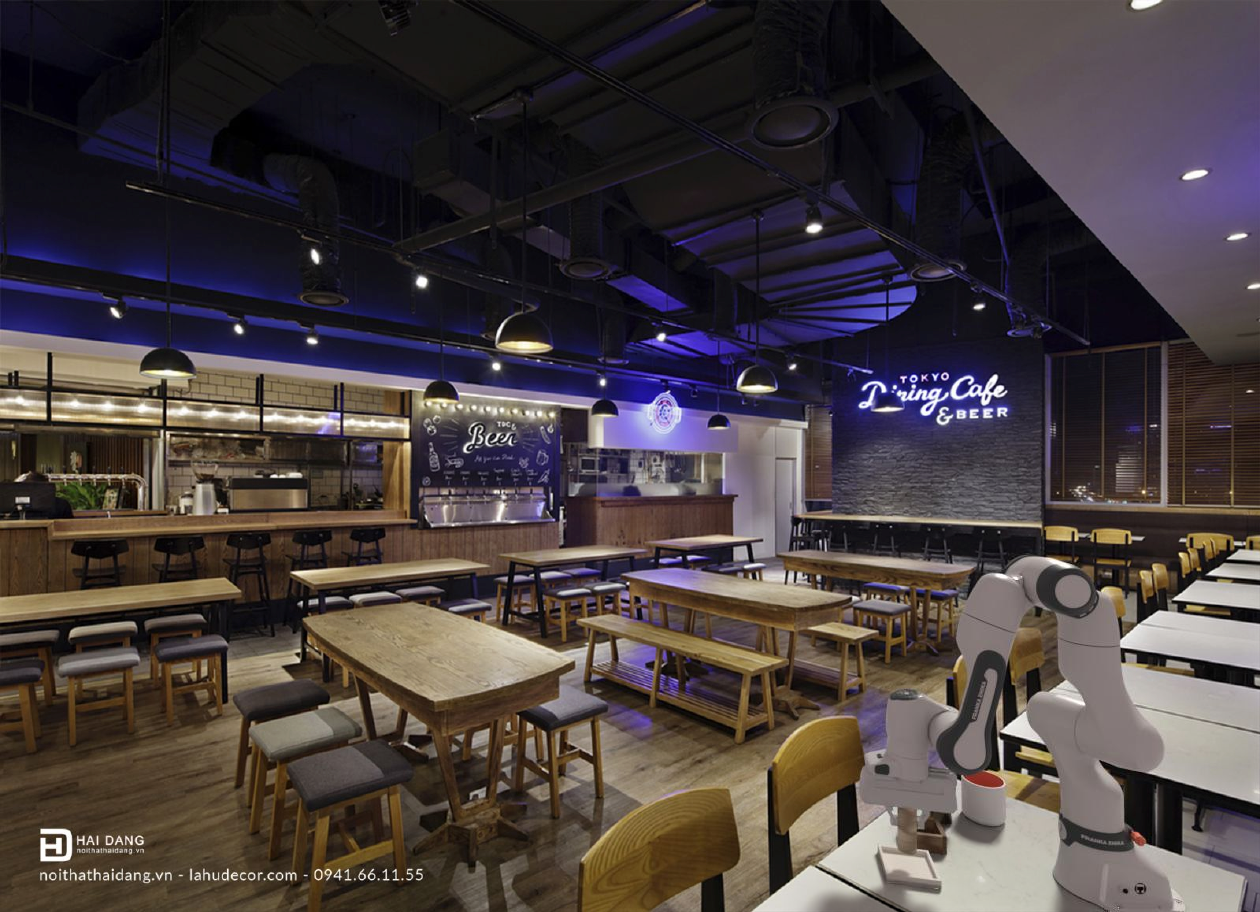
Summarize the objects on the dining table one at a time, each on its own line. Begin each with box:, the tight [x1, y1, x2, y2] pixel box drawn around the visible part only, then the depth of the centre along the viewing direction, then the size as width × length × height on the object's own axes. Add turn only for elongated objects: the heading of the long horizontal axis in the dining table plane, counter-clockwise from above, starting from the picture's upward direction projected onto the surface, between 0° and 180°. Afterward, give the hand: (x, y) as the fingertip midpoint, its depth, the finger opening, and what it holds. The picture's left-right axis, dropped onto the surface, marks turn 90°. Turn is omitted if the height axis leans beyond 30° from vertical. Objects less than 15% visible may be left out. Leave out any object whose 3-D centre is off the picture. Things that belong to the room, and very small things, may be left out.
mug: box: [929, 787, 957, 828], centre depth 158 cm, size 8×6×12 cm
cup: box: [960, 770, 1007, 827], centre depth 161 cm, size 10×10×10 cm
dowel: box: [896, 807, 918, 855], centre depth 140 cm, size 4×4×10 cm
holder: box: [917, 815, 948, 856], centre depth 150 cm, size 8×8×4 cm
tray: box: [877, 844, 942, 890], centre depth 140 cm, size 11×11×2 cm
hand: (907, 826), depth 140 cm, fingers closed on dowel, 4 cm apart
